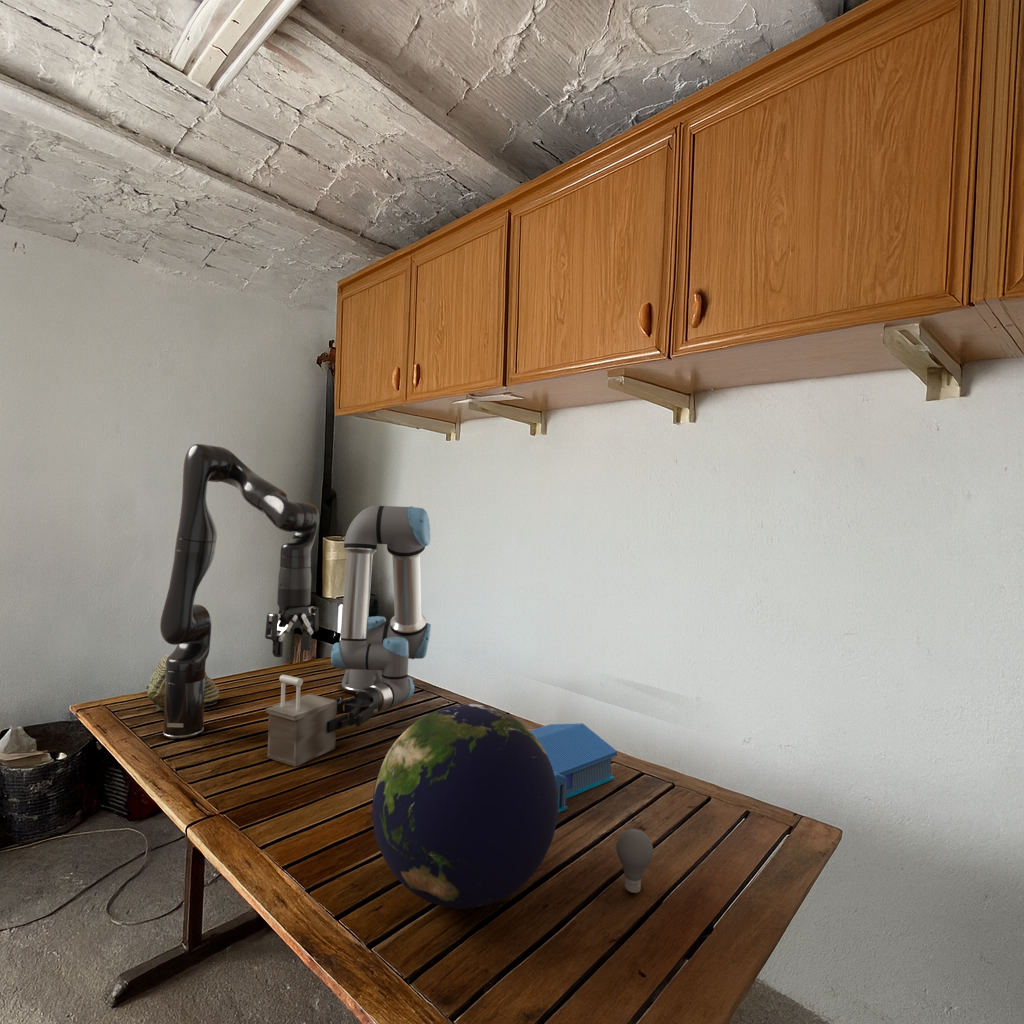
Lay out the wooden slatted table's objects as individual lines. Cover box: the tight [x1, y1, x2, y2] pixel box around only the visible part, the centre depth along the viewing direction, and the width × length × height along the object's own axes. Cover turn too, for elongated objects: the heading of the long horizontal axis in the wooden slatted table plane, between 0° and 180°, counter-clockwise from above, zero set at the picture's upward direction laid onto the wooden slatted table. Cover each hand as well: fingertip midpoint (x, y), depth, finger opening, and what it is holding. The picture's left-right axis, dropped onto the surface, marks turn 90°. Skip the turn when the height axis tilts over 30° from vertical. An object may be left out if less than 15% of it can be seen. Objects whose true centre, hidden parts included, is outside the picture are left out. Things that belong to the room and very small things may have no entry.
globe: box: [371, 703, 559, 910], centre depth 103 cm, size 30×30×30 cm
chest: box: [266, 705, 338, 768], centre depth 156 cm, size 13×10×11 cm
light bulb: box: [615, 828, 654, 894], centre depth 106 cm, size 6×6×10 cm
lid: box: [265, 674, 337, 721], centre depth 155 cm, size 14×10×9 cm
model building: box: [529, 722, 618, 814], centre depth 142 cm, size 39×24×10 cm, turn 132°
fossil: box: [147, 654, 221, 712], centre depth 185 cm, size 9×18×15 cm, turn 132°
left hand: (292, 653), depth 151 cm, fingers open, 8 cm apart
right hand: (313, 723), depth 158 cm, fingers closed on chest, 9 cm apart
